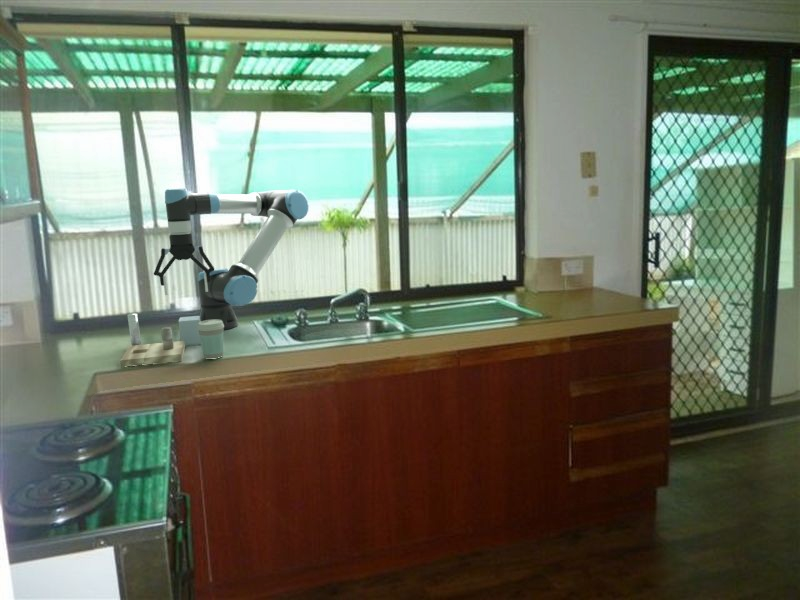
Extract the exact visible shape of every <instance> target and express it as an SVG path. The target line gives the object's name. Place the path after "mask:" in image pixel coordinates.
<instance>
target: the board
mask: <svg viewBox="0 0 800 600" xmlns="http://www.w3.org/2000/svg"><path fill="white" fill-rule="evenodd" d="M160 330H161V331H160V332H161V339H162V342H155V343H154V342H153V343H147V344H141V345H134V346H131V345H129V346H128V347H127V348H126V350H125V352H124V353H123V356H122V357H121V359H120V365H121V368H122V367H125V366H133V365H142V364H153V363H163V364H168V363H167V362H172V363H178V362H177V361H181V362H182V361H183V359H184V358H183V357H184V353H185V350H186V349H185V348H186V346H185V342H184V341H181V340H178V341H176V340H175V341H174V340H173V330H172V327H171V326H166V327H161V329H160ZM153 365H154V364H153ZM125 368H126V367H125Z"/></svg>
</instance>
